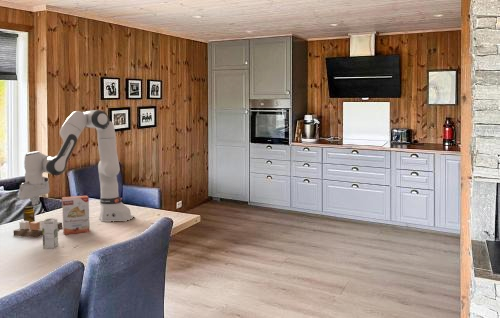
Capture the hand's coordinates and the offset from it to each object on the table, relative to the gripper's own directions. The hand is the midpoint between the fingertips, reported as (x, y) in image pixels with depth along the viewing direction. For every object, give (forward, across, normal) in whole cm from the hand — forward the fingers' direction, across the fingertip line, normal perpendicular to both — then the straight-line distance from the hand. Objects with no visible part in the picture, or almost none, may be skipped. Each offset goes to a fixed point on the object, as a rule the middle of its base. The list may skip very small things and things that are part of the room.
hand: (35, 204), depth 248 cm
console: (+17, +5, +3) cm, 18 cm away
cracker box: (+18, +9, -20) cm, 28 cm away
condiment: (+18, +13, +17) cm, 28 cm away
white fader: (+14, -2, +6) cm, 15 cm away
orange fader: (+14, -2, -1) cm, 14 cm away
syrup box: (+18, -18, -24) cm, 34 cm away
